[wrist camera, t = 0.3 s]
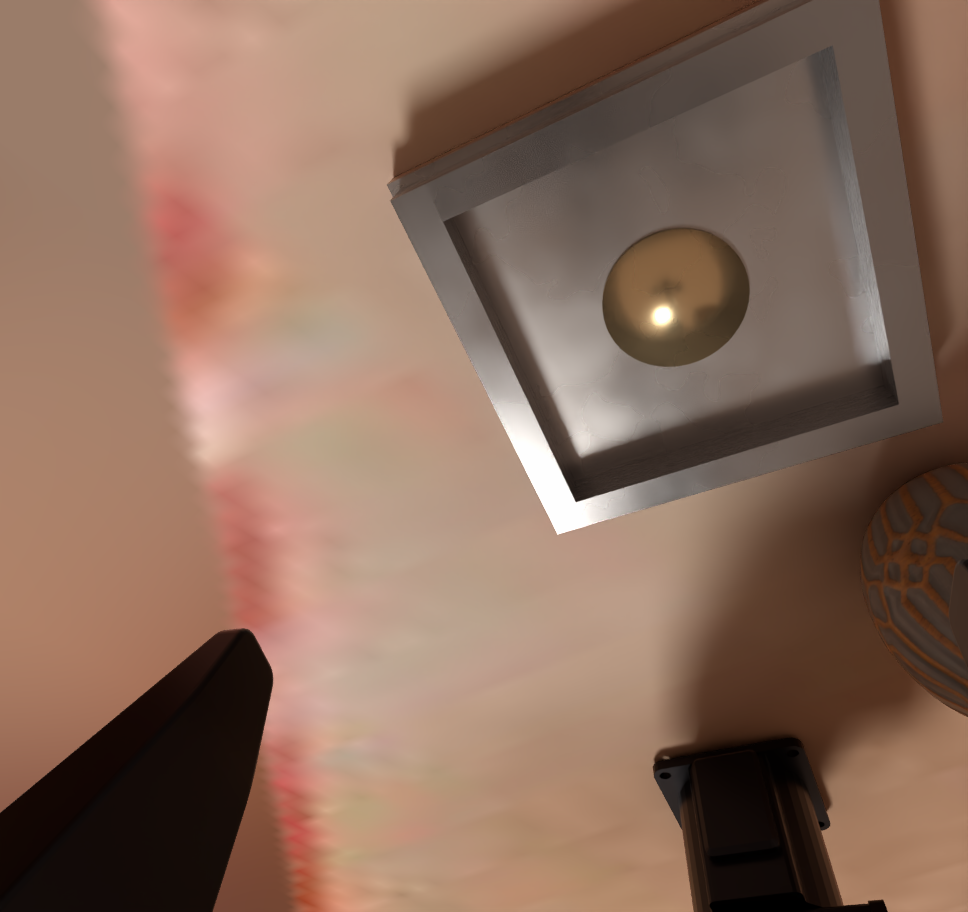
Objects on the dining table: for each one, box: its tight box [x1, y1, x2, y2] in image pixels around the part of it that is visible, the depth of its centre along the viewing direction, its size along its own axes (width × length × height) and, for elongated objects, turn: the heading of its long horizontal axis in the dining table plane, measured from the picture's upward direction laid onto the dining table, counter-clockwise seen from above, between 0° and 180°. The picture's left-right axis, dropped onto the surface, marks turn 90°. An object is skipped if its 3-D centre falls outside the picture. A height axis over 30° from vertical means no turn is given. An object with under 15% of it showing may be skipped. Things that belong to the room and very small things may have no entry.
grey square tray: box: [387, 0, 943, 534], centre depth 20 cm, size 12×12×2 cm
